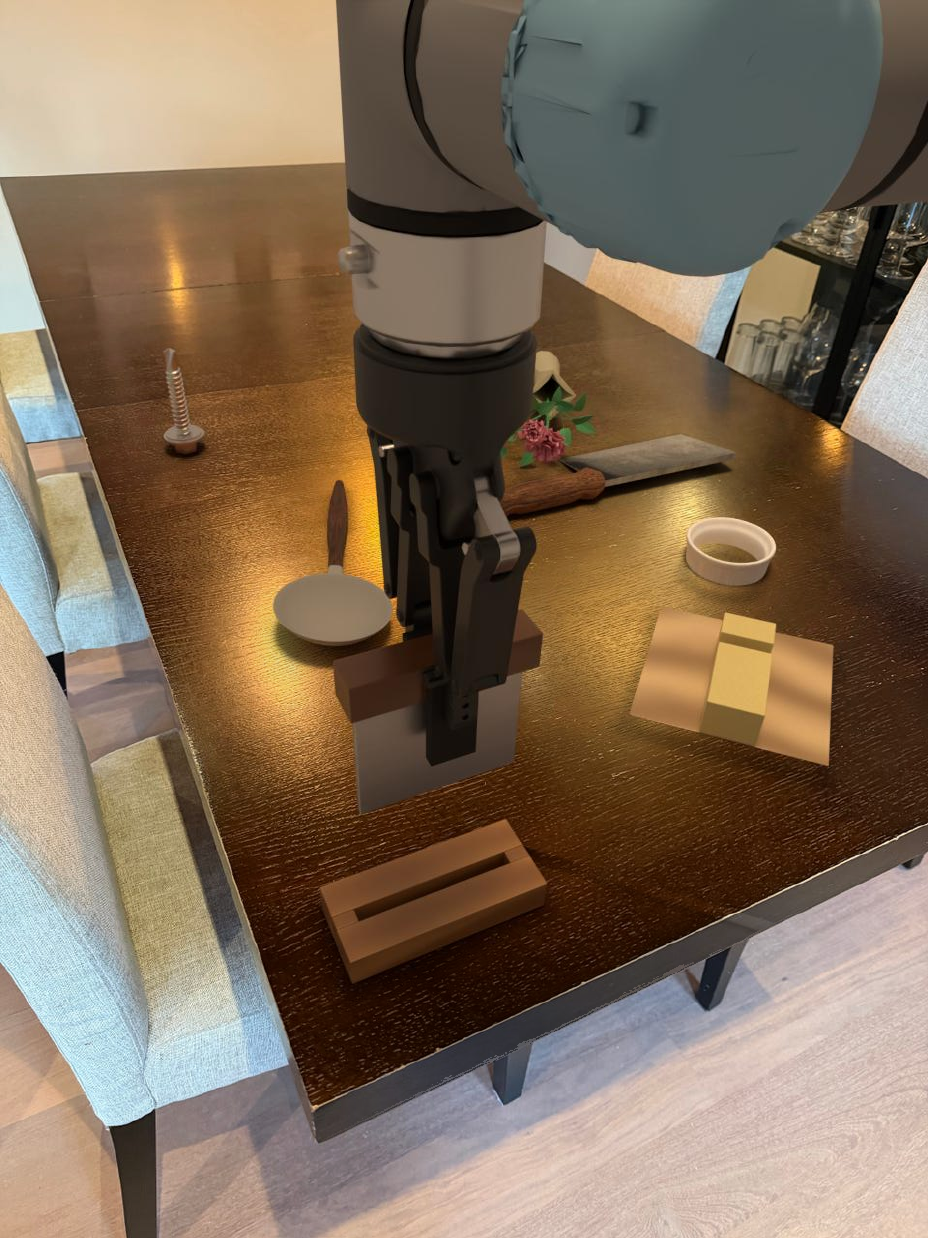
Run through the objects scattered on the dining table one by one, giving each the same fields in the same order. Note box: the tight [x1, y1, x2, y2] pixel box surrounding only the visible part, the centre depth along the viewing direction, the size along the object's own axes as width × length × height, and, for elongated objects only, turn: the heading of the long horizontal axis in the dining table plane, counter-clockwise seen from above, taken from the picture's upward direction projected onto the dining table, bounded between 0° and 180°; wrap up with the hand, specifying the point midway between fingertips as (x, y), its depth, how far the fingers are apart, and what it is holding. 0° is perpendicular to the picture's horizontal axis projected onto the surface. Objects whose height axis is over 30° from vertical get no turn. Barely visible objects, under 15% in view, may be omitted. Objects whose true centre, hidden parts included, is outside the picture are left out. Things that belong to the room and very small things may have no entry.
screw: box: [163, 347, 206, 455], centre depth 107 cm, size 13×5×5 cm
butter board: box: [629, 606, 834, 767], centre depth 79 cm, size 16×16×2 cm
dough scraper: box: [332, 608, 544, 815], centre depth 50 cm, size 2×11×11 cm, turn 116°
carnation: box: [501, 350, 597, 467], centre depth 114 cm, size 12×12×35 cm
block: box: [319, 818, 548, 985], centre depth 60 cm, size 6×14×2 cm, turn 116°
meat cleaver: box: [500, 433, 736, 518], centre depth 108 cm, size 34×11×4 cm, turn 116°
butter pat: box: [713, 612, 777, 662], centre depth 80 cm, size 3×4×4 cm, turn 71°
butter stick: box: [699, 642, 772, 747], centre depth 74 cm, size 8×4×4 cm, turn 161°
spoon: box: [272, 479, 394, 647], centre depth 92 cm, size 11×33×3 cm, turn 5°
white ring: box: [685, 516, 777, 587], centre depth 92 cm, size 9×9×4 cm
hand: (439, 735), depth 51 cm, fingers closed on dough scraper, 2 cm apart
